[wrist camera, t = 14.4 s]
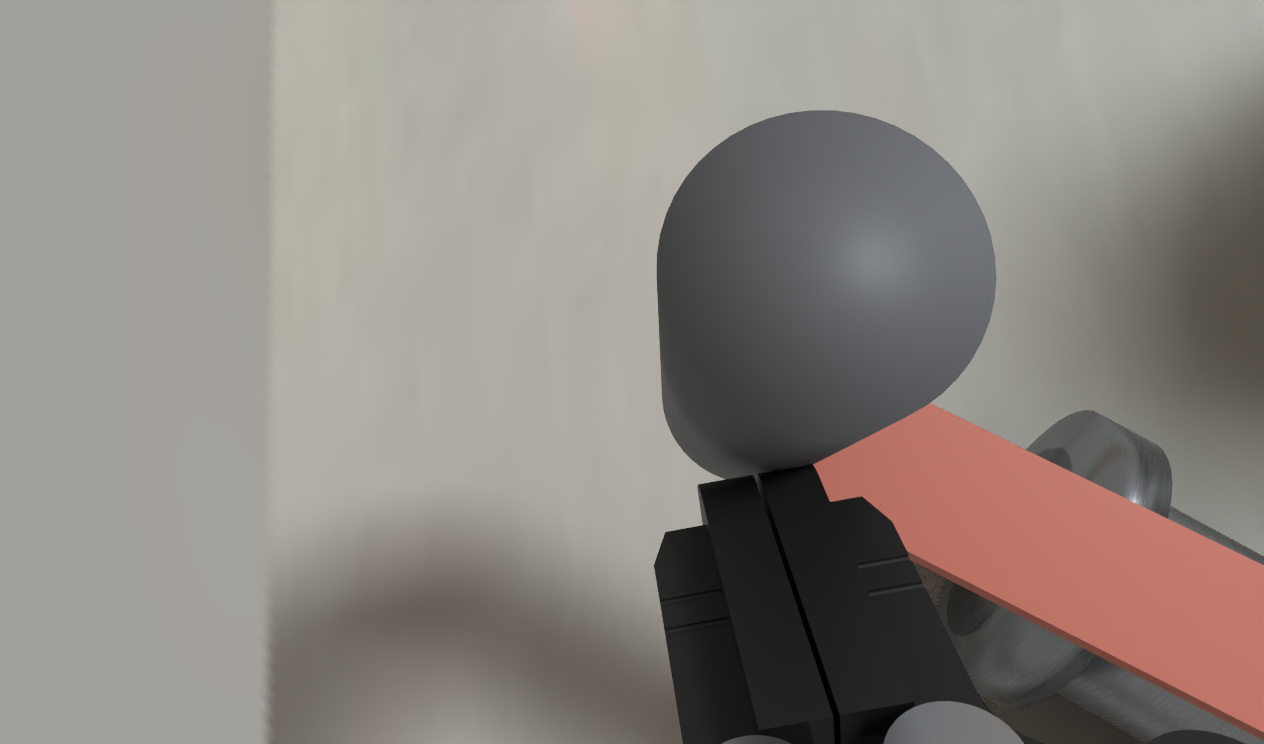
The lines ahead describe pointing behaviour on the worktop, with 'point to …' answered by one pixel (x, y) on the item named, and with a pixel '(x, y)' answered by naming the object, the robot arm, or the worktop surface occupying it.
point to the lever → (917, 398)
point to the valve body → (1046, 663)
